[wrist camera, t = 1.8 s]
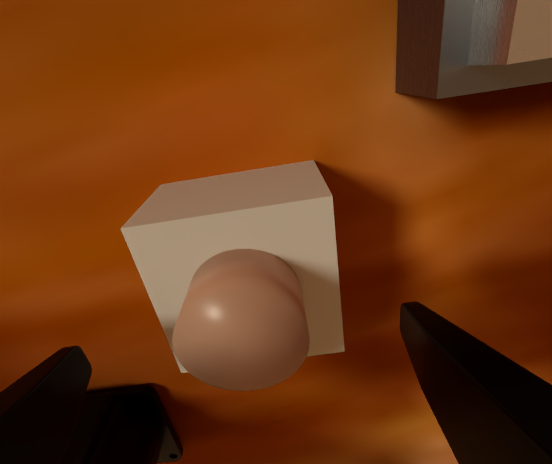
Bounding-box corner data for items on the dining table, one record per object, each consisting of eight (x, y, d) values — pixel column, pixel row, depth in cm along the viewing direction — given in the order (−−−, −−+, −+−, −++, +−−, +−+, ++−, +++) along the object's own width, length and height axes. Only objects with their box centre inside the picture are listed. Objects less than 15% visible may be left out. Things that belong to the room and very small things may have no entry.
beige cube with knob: (325, 284, 15) (359, 403, 10) (201, 302, 15) (166, 427, 10) (313, 159, 12) (349, 227, 7) (161, 183, 13) (84, 267, 7)
